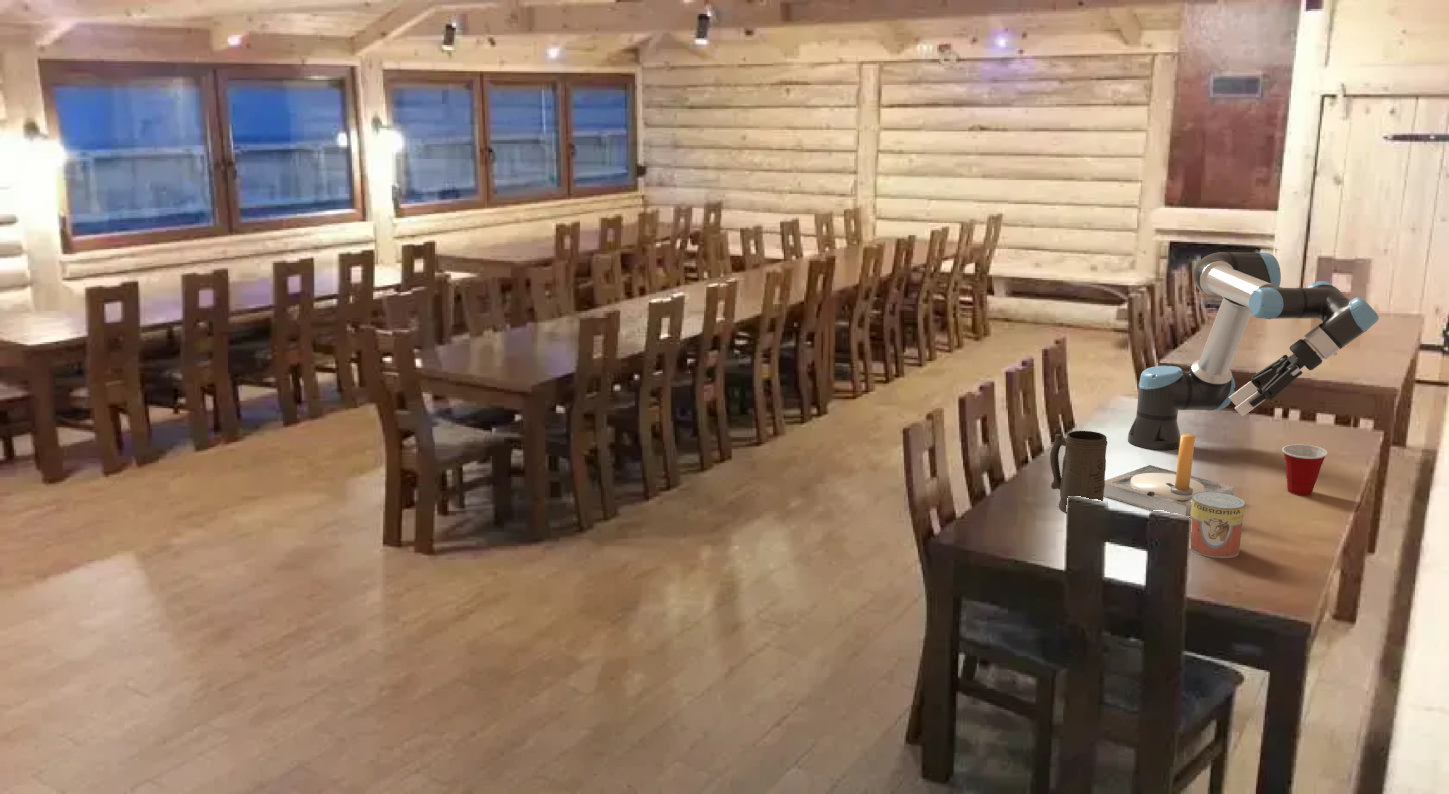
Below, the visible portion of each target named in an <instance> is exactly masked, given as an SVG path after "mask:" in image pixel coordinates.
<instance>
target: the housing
mask: <svg viewBox="0 0 1449 794" xmlns="http://www.w3.org/2000/svg"><path fill="white" fill-rule="evenodd" d="M1143 473H1166V474H1174V475H1176V473H1177V471H1175V470H1171V469H1170V470H1169V469H1166V468H1163V467H1159V466H1154V465H1150V464H1148V465H1146V466H1142V467H1139V468H1137V469H1135V470H1131V471H1129V472H1126V473H1123V474H1120V475H1118V476H1117V475H1116V476H1115V477H1111V478H1109V479H1105V488H1104V496H1103V497H1106V498H1110V499H1113V500H1116V499H1117V500H1116V501H1119V500H1120V501H1119V502H1123V503H1126V504H1129V505H1133V506H1137V507H1140V508H1142V509H1147V510H1149V511H1153V510H1164V511H1167V512H1170V513H1178V514H1181V515H1184V516H1190V515H1191V506H1192V497H1191V499H1190V500H1172V499H1168V498H1165V497H1161V496H1158V495H1154V492H1152V491H1150V492H1148V493H1147V492H1144V491H1140V490H1136V489H1133V488H1131V486H1130V482H1131V478H1132V477H1133V476H1135V475H1138V474H1143ZM1190 478H1191V479H1193V480H1196V481H1198V482H1200V483H1201V484H1202V485H1203V486H1204V492H1219V493H1225V494H1230V495H1233V496H1234V494H1235V493H1234V491H1235V486H1231V485H1228V484H1224V483H1220V482H1215V481H1213V480H1208V479H1205V478H1200V477H1198V476H1193V475H1191V477H1190Z"/></svg>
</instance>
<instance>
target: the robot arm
mask: <svg viewBox="0 0 1449 794" xmlns="http://www.w3.org/2000/svg"><path fill="white" fill-rule="evenodd" d="M1281 273H1282V272H1281V268H1280V264H1279V261H1278V260H1277V258H1276V257H1275V255H1273V254H1272V253H1269V252H1259V251H1255V252H1242V251H1241V252H1236V251H1234V252H1230V251H1229V252H1228V251H1227V252H1225V251H1218V252H1215V253H1211V254H1208V255H1206V256H1204V257H1202V258H1201V259H1200V260H1199V261H1198V262H1197V263H1196V265H1195V266H1194V269H1193V273H1192V279H1193V282H1194V285H1195V287H1196V288H1197V289H1198V290H1199V291H1200V292H1202V293H1204V294H1206V295H1209V296H1212V297H1219V296H1221V297H1222V301H1221V303H1220V305H1219V308H1218V311H1217V314H1216V316H1215V319H1214V321H1213V324H1212V327H1211V328H1210V331H1209V334H1208V337H1207V339H1206V343H1205V345H1204V347H1203V350H1202V353H1201V355H1200V357H1199V359H1196V360H1195V361H1194V362H1192V364H1191V366H1190V368H1189V371H1183V369H1182V368H1181V367H1179V366H1176V365H1175V366H1174V365H1156V366H1152V367H1148V368H1146V369H1143V371H1142V372H1141V374H1140V378H1139V383H1138V396H1137V406H1136V414H1135V418H1134V421H1133V423H1132V425H1131V427H1130V429H1129V431H1128V435H1127V437H1128V438H1127V442H1128V443H1129V444H1131V445H1133V446H1137V447H1139V448H1144V449H1150V450H1160V451H1161V450H1162V451H1163V450H1164V451H1166V450H1169V451H1170V450H1175V449H1179V446H1180V437H1181V433H1180V428H1179V424H1178V414H1179V411H1209V412H1210V411H1215V410H1223V409H1225V408H1226V407H1228V406H1229V405H1230V403H1231V402H1232V403H1233V404H1234V405H1235V407H1234V409H1235V411H1236V412H1237V413H1238V414H1239V415H1240V416H1241V417H1244V416H1246V415H1248V414H1249V412H1251V411H1252V410H1254V409H1255V408H1256V407H1258V406H1259V405H1260V404H1262V403H1263V402H1265V401H1267V400H1269V401H1272V400H1273V399H1274V398H1275V397H1276V396H1277V395H1279V394H1280V393H1281V392H1282V391H1283V390H1284V389H1285V388H1286V387H1287V386H1289V385H1290V384H1291V383H1292V382H1293V381H1294V380H1296V379H1297V378H1299V377H1300V376H1302V374H1303V370H1301V369H1303V368H1304V367H1305V368H1306V369H1308V371H1313V370H1314V369H1316V368H1317V367H1319V366H1320V365H1321V364H1322V363H1323V359H1324V360H1328V359H1329V358H1330V357H1331V356H1337V355H1338V351H1340V350H1342V349H1344V347H1345V346H1347V345H1348V344H1350V343H1351V342H1352V341H1354V340H1355V339H1356V338H1358V337H1359V336H1361V335H1362V334H1363V333H1366V332H1367V331H1369V330H1370V329H1371V328H1372V326H1374V325H1375V324H1376V323H1378V321H1379V318H1380V317H1379V315H1378V313H1377V312H1376V311H1375V309H1374V308H1373V307H1371V305H1370V304H1369V303H1368V302H1367V301H1366V300H1365V299H1363V298H1362V297H1360V296H1356V297H1354V298H1352V299H1351V300H1349V299H1348V298H1347V296H1345V294H1344V293H1342V292H1341V290H1340V289H1339V288H1337V287H1336V286H1334V285H1333V284H1331V283H1330V282H1328V281H1324V280H1320V281H1319V280H1318V281H1316V282H1315V281H1314V282H1313V283H1310V284H1309V285H1308V286H1307V287H1282V286H1281V282H1282V280H1281V279H1282V275H1281ZM1252 316H1253V317H1254V318H1255V319H1256V318H1257V319H1265V320H1276V319H1277V320H1280V319H1318V320H1321V321H1322V322H1321V323H1319V324H1318V325H1316V326H1315V327H1314V328H1312V329H1311V330H1310V331H1308V332H1307V333H1306V334H1304V336H1303V338H1304V339H1303V338H1300V339H1298V340H1297V341H1295V342H1294V343H1293V344H1291V345H1290V346H1289V350H1290V352H1292V355H1290V356H1288V355H1287V354H1283V355H1282V356H1281V357H1280V358H1279V359H1277V360H1275V361H1274V362H1272V363H1271V364H1270V365H1268V366H1266V367H1264V368H1263V369H1261V370H1260V371H1258V372H1257V373H1255V374H1253V375H1252V376H1251V379H1250V381H1248V382H1247V383H1246V384H1244V385H1243V386H1241V387H1240V388H1239V389H1238V390H1236V391H1235V388H1236V381H1235V378H1234V376H1233V373H1232V370H1230V368H1231V365H1232V363H1233V361H1234V359H1235V356H1236V354H1237V351H1238V348H1239V346H1240V343H1241V341H1242V339H1243V336H1244V334H1245V332H1246V328H1247V326H1248V324H1249V321H1250V319H1251V317H1252ZM1262 386H1263V387H1262Z"/></svg>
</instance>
